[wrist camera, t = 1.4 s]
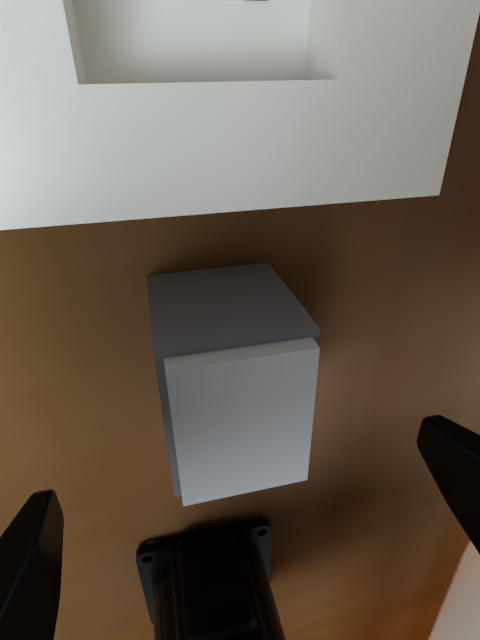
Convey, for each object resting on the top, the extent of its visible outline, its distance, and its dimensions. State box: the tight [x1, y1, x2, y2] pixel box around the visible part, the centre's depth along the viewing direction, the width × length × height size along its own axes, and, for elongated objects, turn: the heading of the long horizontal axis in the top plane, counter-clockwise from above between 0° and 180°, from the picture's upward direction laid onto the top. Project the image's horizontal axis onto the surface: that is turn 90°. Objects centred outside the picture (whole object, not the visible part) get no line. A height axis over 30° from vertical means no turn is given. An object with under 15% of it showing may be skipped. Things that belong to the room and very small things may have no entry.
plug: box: [147, 263, 320, 506], centre depth 13 cm, size 5×4×5 cm
